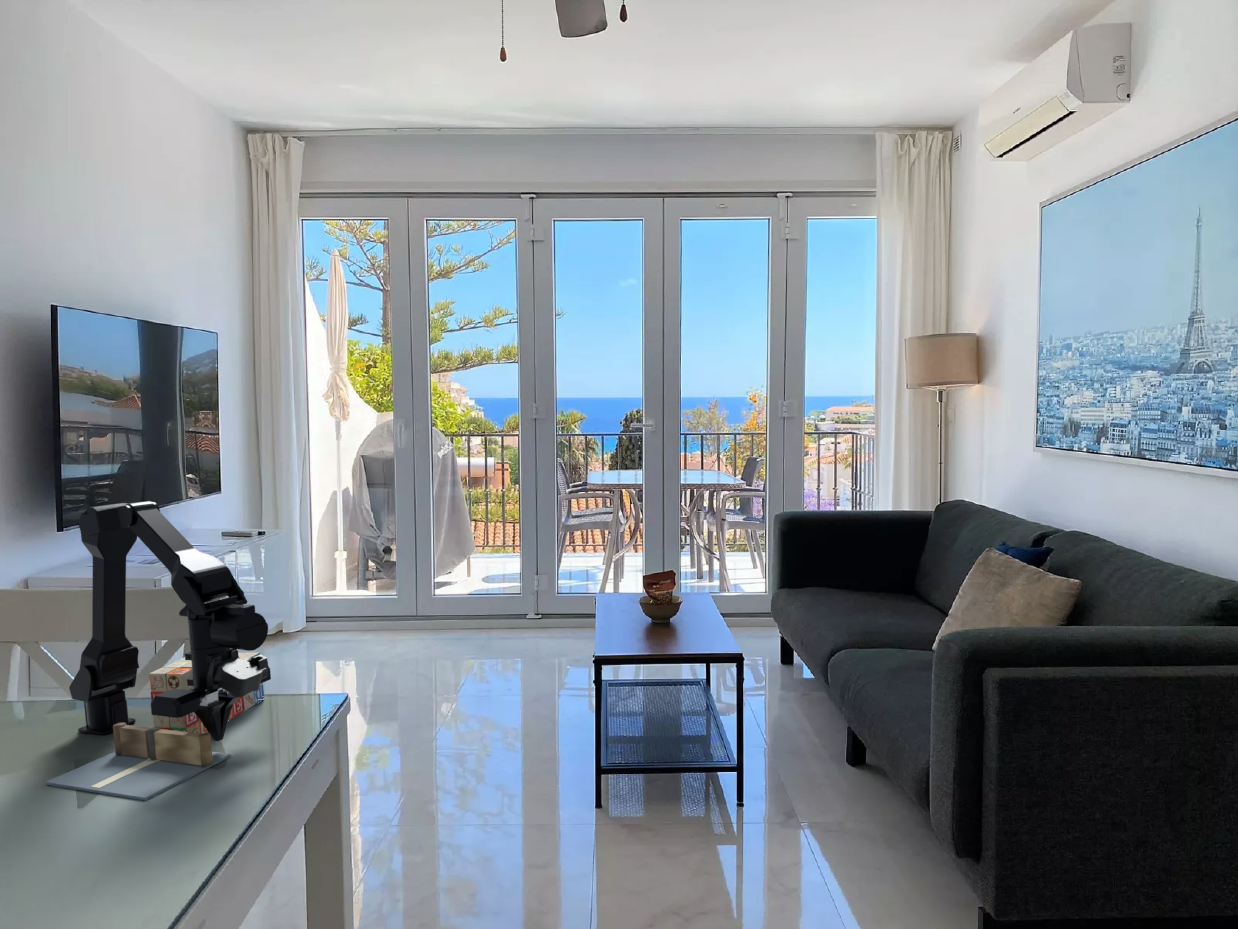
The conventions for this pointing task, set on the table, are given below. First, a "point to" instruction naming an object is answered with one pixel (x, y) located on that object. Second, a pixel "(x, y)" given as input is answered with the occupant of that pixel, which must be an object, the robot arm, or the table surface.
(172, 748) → the folding fence panel
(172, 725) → the stack of blocks
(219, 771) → the table surface
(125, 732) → the fixed fence section
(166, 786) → the board
